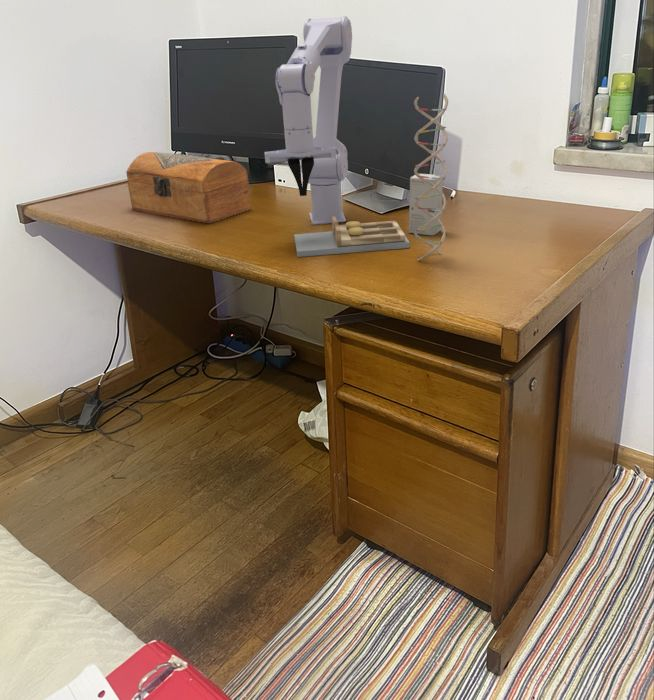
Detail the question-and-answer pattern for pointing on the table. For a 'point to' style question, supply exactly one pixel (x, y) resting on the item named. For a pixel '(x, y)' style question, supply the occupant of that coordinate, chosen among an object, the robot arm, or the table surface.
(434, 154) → the dna model
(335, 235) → the beige flat slatted frame
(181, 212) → the wooden box
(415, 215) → the skincare box
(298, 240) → the board
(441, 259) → the table surface
